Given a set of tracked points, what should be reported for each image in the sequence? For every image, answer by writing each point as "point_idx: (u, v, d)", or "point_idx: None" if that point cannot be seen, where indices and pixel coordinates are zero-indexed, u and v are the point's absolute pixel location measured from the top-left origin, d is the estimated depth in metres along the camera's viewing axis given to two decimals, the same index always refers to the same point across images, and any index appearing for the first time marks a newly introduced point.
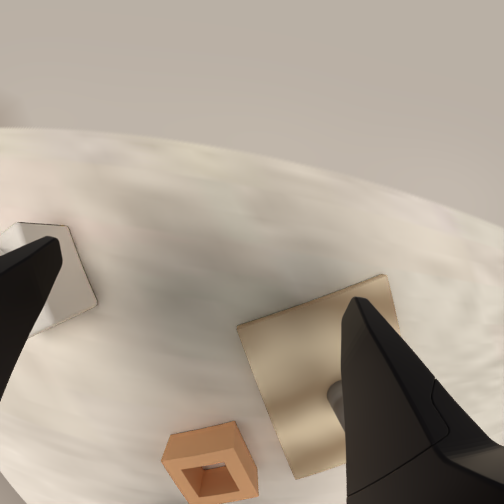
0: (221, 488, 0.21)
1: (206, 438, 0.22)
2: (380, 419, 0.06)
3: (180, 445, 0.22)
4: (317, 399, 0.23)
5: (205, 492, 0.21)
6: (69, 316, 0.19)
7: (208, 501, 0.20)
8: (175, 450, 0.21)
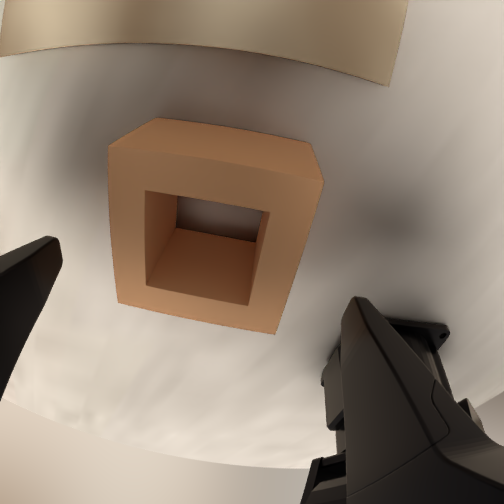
0: (260, 245, 0.10)
1: None
2: (380, 419, 0.06)
3: None
4: None
5: (252, 283, 0.11)
6: None
7: (271, 298, 0.11)
8: None
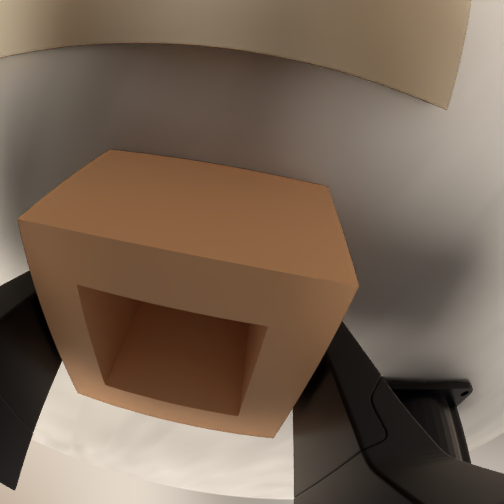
0: (253, 349, 0.07)
1: None
2: (319, 417, 0.06)
3: None
4: None
5: (243, 387, 0.08)
6: None
7: (269, 411, 0.07)
8: None
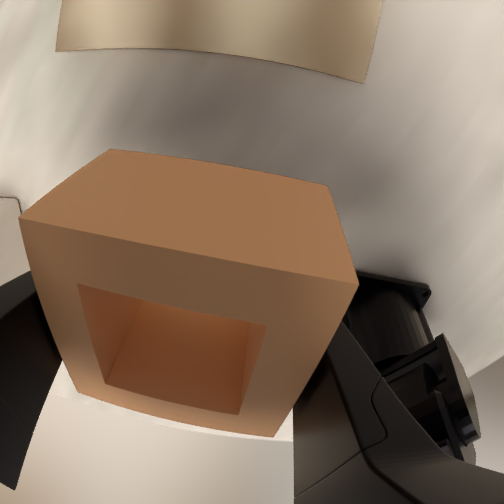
0: (253, 347, 0.07)
1: None
2: (319, 417, 0.06)
3: None
4: None
5: (243, 386, 0.08)
6: None
7: (269, 409, 0.07)
8: None
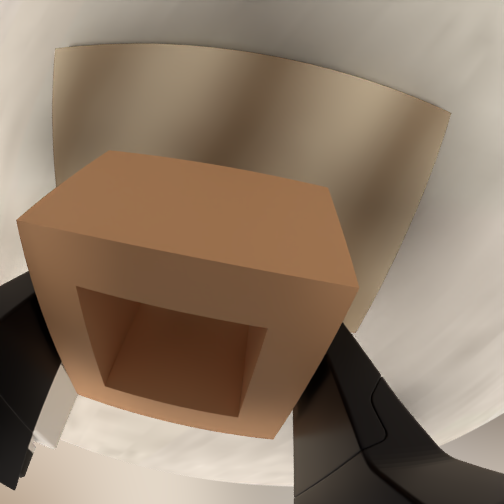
0: (253, 350, 0.07)
1: None
2: (319, 417, 0.06)
3: None
4: None
5: (243, 389, 0.08)
6: None
7: (268, 412, 0.07)
8: None
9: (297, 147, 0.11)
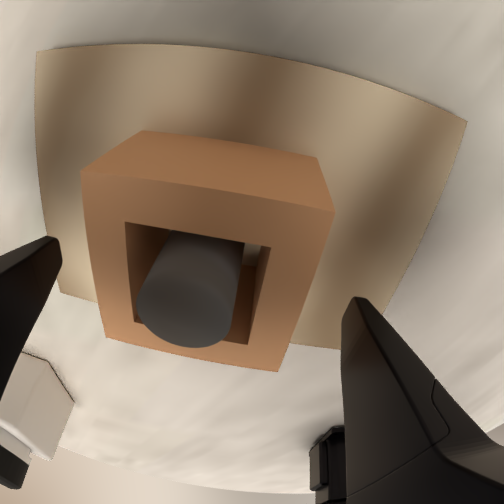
0: (260, 280, 0.09)
1: None
2: (380, 419, 0.06)
3: None
4: None
5: (251, 319, 0.10)
6: (25, 406, 0.17)
7: (273, 336, 0.09)
8: None
9: None
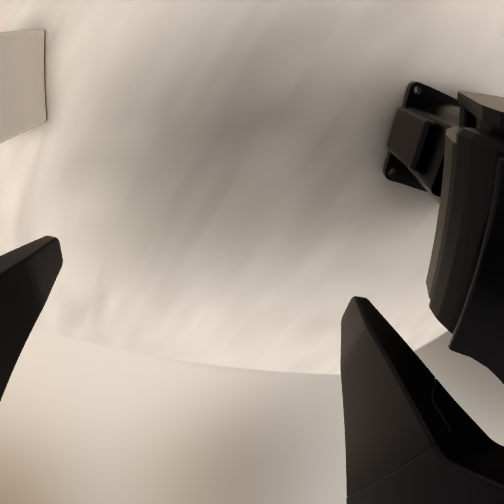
0: None
1: None
2: (380, 419, 0.06)
3: None
4: None
5: None
6: None
7: None
8: None
9: None
